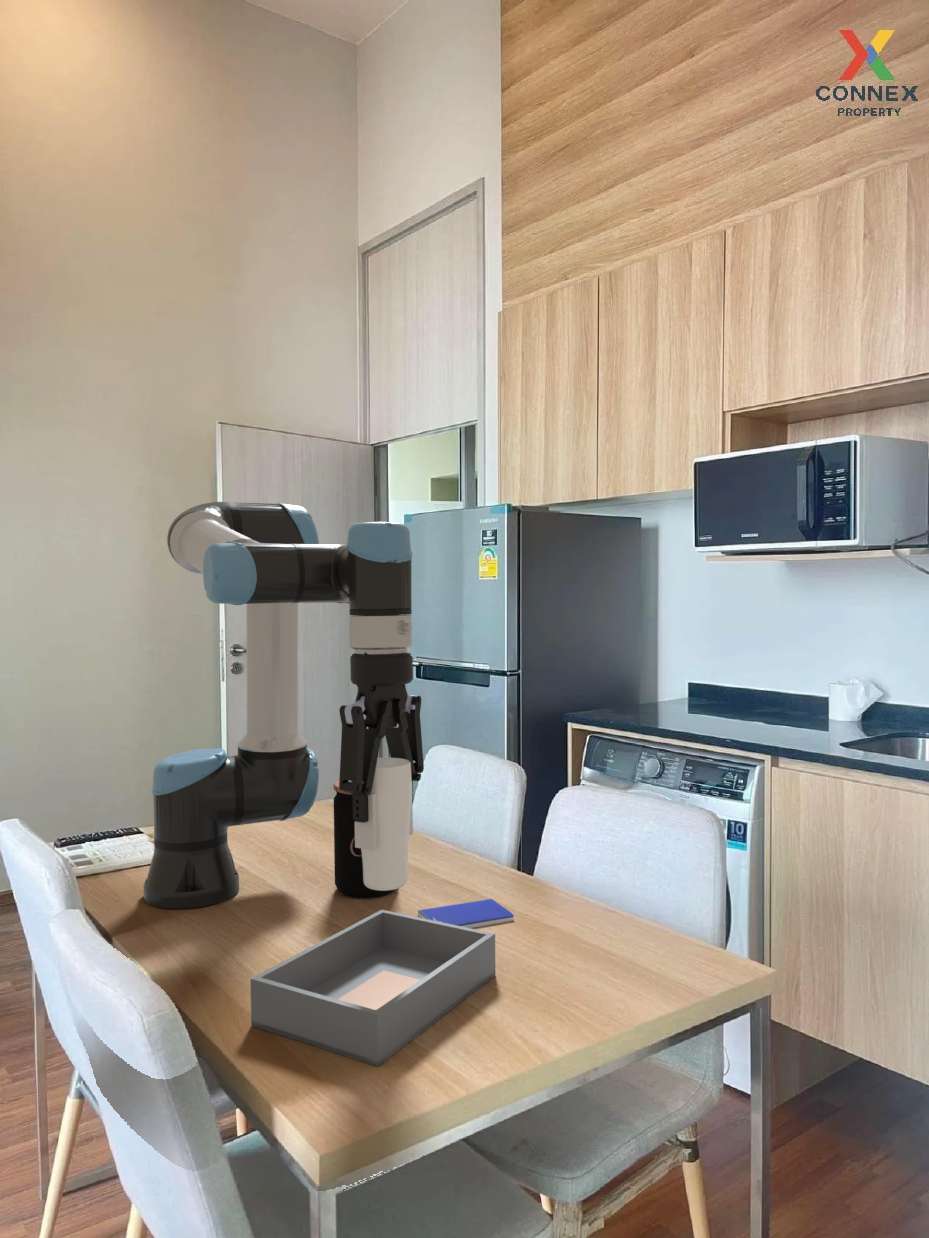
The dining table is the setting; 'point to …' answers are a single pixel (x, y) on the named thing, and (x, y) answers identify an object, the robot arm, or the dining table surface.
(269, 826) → the dining table surface
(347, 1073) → the dining table surface
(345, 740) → the robot arm
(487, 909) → the hard drive
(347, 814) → the coffee jar
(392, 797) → the drinking glass
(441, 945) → the walled box
